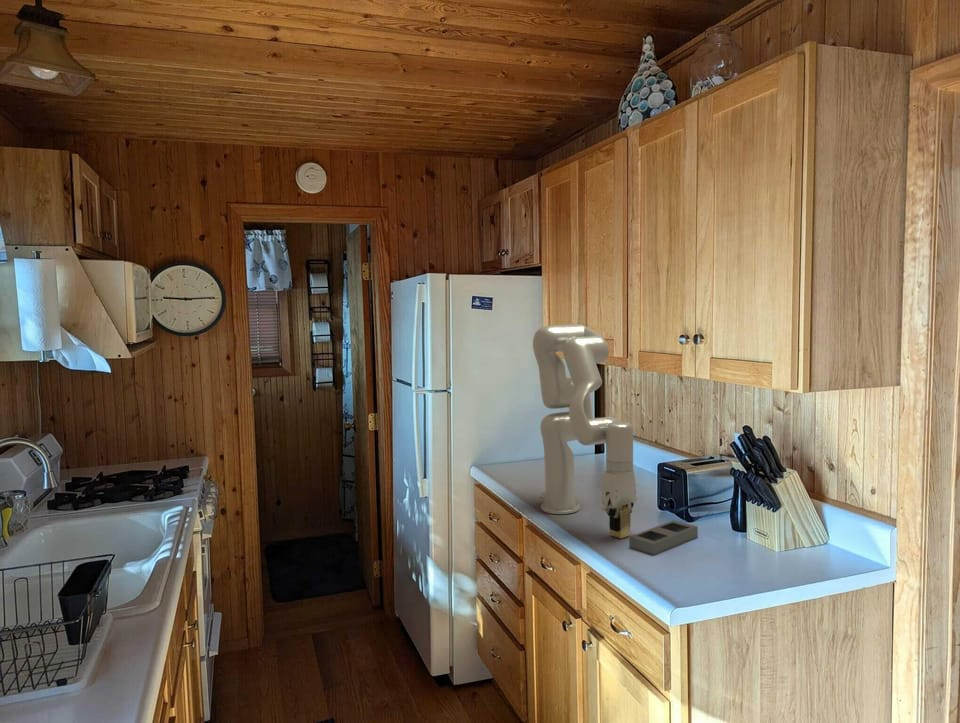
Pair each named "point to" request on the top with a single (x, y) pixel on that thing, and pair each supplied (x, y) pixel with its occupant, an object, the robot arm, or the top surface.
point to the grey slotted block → (663, 537)
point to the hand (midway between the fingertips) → (619, 527)
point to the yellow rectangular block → (622, 523)
